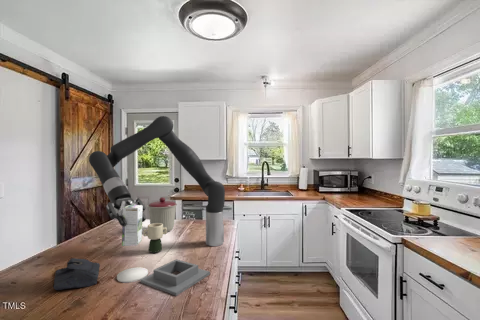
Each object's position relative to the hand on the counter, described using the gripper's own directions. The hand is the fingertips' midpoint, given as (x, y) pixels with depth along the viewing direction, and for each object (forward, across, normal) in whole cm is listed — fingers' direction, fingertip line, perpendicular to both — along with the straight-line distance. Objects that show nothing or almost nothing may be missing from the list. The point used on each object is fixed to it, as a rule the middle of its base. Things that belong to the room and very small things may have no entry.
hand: (134, 222), depth 96 cm
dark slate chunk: (+2, -12, +28) cm, 31 cm away
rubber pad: (+14, 0, +15) cm, 21 cm away
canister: (-13, +49, +42) cm, 66 cm away
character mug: (+5, +22, +25) cm, 33 cm away
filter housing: (+25, +7, +4) cm, 26 cm away
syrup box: (+5, 0, +7) cm, 8 cm away
